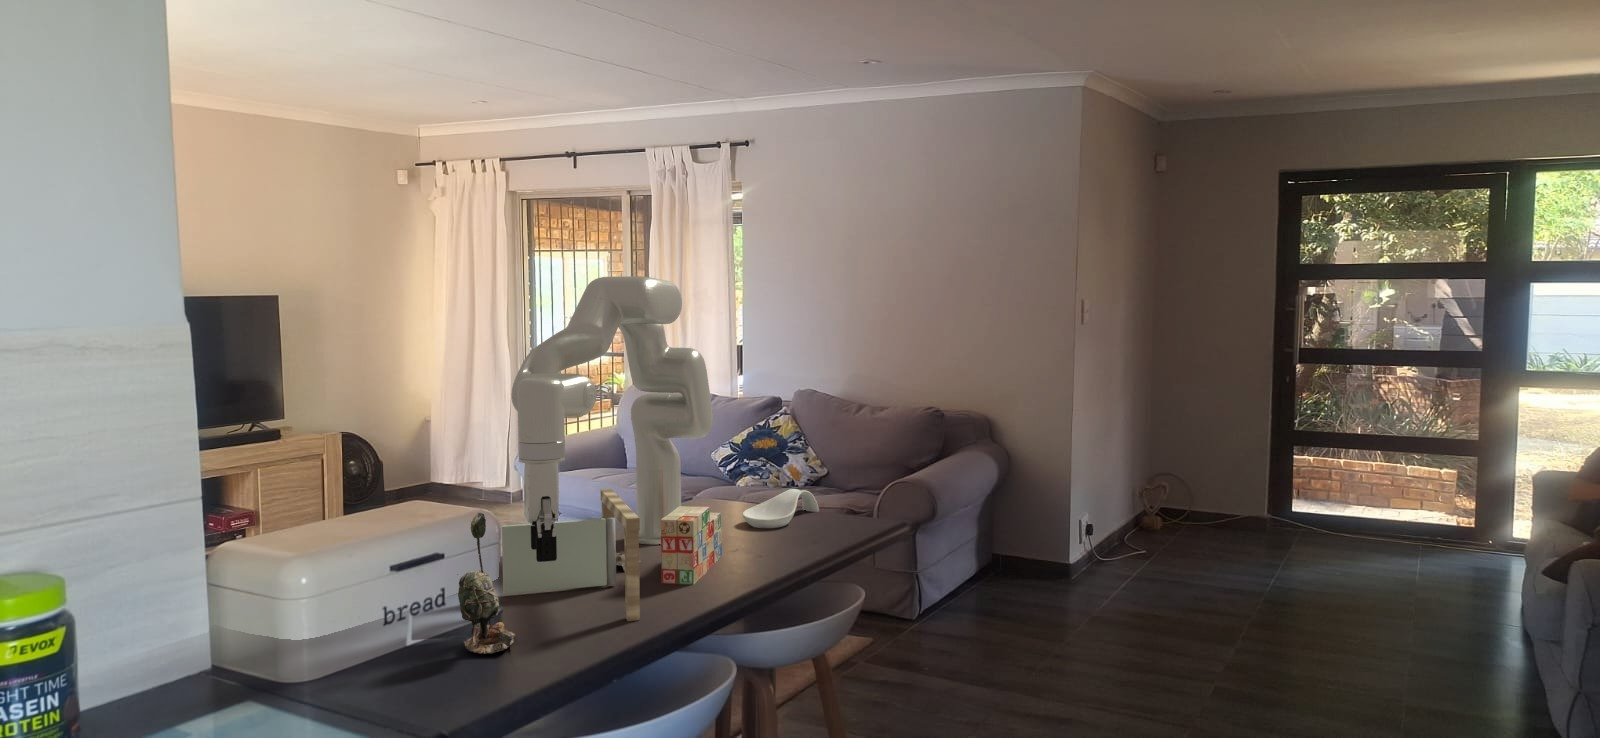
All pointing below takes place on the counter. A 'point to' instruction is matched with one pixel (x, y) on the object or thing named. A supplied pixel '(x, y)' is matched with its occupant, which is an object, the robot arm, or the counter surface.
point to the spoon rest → (779, 509)
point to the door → (560, 557)
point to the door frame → (626, 548)
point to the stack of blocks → (689, 544)
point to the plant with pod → (482, 604)
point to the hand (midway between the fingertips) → (543, 554)
